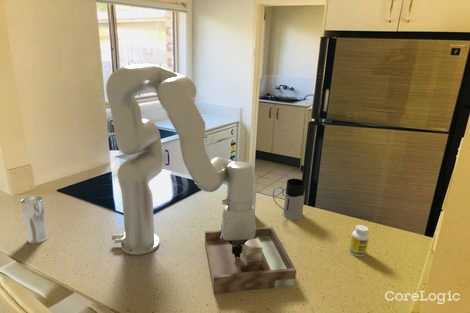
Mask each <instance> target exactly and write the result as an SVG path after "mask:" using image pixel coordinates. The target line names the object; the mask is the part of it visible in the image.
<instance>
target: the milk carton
mask: <svg viewBox="0 0 470 313" xmlns="http://www.w3.org/2000/svg"><path fill="white" fill-rule="evenodd" d="M257 188H258V179H257V175H254V177H253V193H252V205H253V207H254V209H255V210H256V203H257V200H256V199H257Z"/></svg>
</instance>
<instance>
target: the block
mask: <svg viewBox="0 0 470 313" xmlns="http://www.w3.org/2000/svg"><path fill="white" fill-rule="evenodd" d="M242 250H243V255H244V258H245V261H246V262H256V261H261V259H262V245H261V243H260V241H259V239H250V240H248V241H247V242H245V243H244V245H243V246H242Z"/></svg>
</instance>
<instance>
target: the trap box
mask: <svg viewBox="0 0 470 313" xmlns="http://www.w3.org/2000/svg"><path fill="white" fill-rule="evenodd" d="M221 233H222V231H221V229H220V230H206V231H204V246H205V253H206V260H207V264H208V269H209V274H210V281H211V287H212V293H213V295H217V294H227V293H234V292H246V291H255V290H266V289H274V288H287V287H294V286H295V284H296V277H297V275H296V274H297V269H296V267H295V265H294V263H293V262H292V259H291V258H290V256H289V255H288V253H287V251H286V249H285V248H284V245H283V244H282V242H281V240H280V239H279V236H278V235H277V233H276V231H275V230H274V228H273V226H267V227H266V226H265V227H264V226H263V227H256V233H255V238H254V239H259V241H260V243H261V245H262V259H261V261H256V262H246V261H245V258H244V255H243V249H242V253H240V257H239V258H238V256H237V258H235V256H234V254H232V245H231V244H230V243H229V242H228V241H221V238H220V236H221ZM237 241H238V240H236V243H237Z"/></svg>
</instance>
